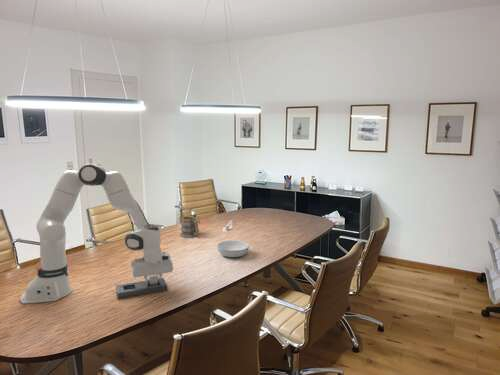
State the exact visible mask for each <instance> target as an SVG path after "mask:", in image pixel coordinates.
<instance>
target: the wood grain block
mask: <svg viewBox="0 0 500 375" xmlns="http://www.w3.org/2000/svg"><path fill="white" fill-rule="evenodd" d="M158 277H159V276H158V274H155V275H148V279H149V280H150V283H149V286H154V285H158Z"/></svg>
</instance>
